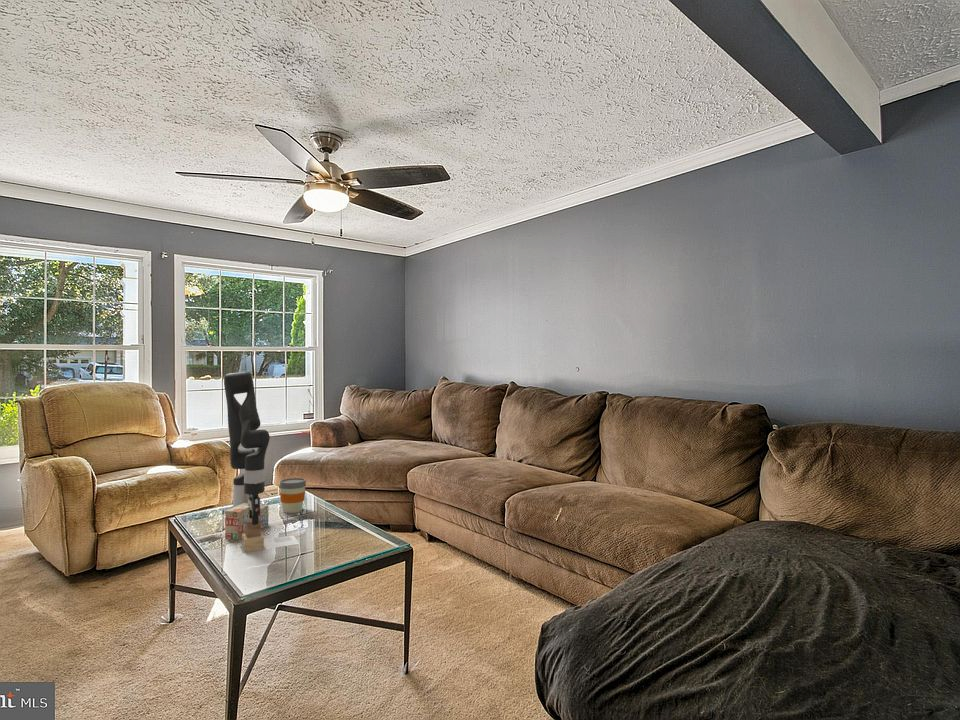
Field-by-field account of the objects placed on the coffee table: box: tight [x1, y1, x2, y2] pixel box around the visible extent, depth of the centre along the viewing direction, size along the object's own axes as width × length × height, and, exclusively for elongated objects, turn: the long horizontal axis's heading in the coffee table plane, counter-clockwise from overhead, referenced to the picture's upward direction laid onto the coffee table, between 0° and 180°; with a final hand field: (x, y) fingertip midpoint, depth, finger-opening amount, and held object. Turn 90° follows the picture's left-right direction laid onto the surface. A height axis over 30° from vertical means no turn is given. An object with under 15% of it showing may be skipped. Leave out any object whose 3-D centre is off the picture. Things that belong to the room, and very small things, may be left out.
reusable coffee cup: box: [279, 477, 307, 514], centre depth 254 cm, size 13×13×15 cm
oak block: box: [241, 531, 265, 553], centre depth 200 cm, size 7×7×5 cm
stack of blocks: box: [224, 503, 270, 541], centre depth 220 cm, size 21×6×12 cm, turn 170°
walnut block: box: [245, 518, 262, 538], centre depth 200 cm, size 5×5×6 cm
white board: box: [236, 535, 300, 554], centre depth 205 cm, size 12×22×1 cm, turn 121°
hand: (253, 521), depth 200 cm, fingers open, 8 cm apart
